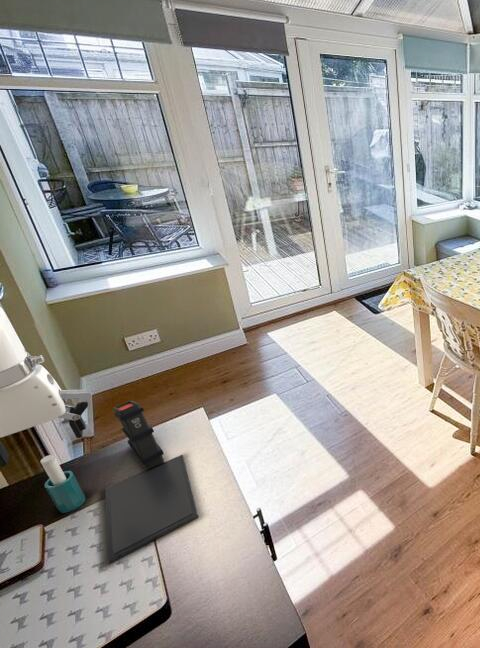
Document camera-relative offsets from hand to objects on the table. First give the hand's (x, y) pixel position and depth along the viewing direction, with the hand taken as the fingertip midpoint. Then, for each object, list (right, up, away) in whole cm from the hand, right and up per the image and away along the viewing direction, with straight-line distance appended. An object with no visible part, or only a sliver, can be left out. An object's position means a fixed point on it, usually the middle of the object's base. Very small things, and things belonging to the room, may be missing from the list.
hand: (44, 446), depth 77 cm
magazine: (+4, -9, +18) cm, 20 cm away
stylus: (-1, -14, +6) cm, 15 cm away
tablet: (+14, -14, +6) cm, 21 cm away
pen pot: (-1, -14, +6) cm, 15 cm away
